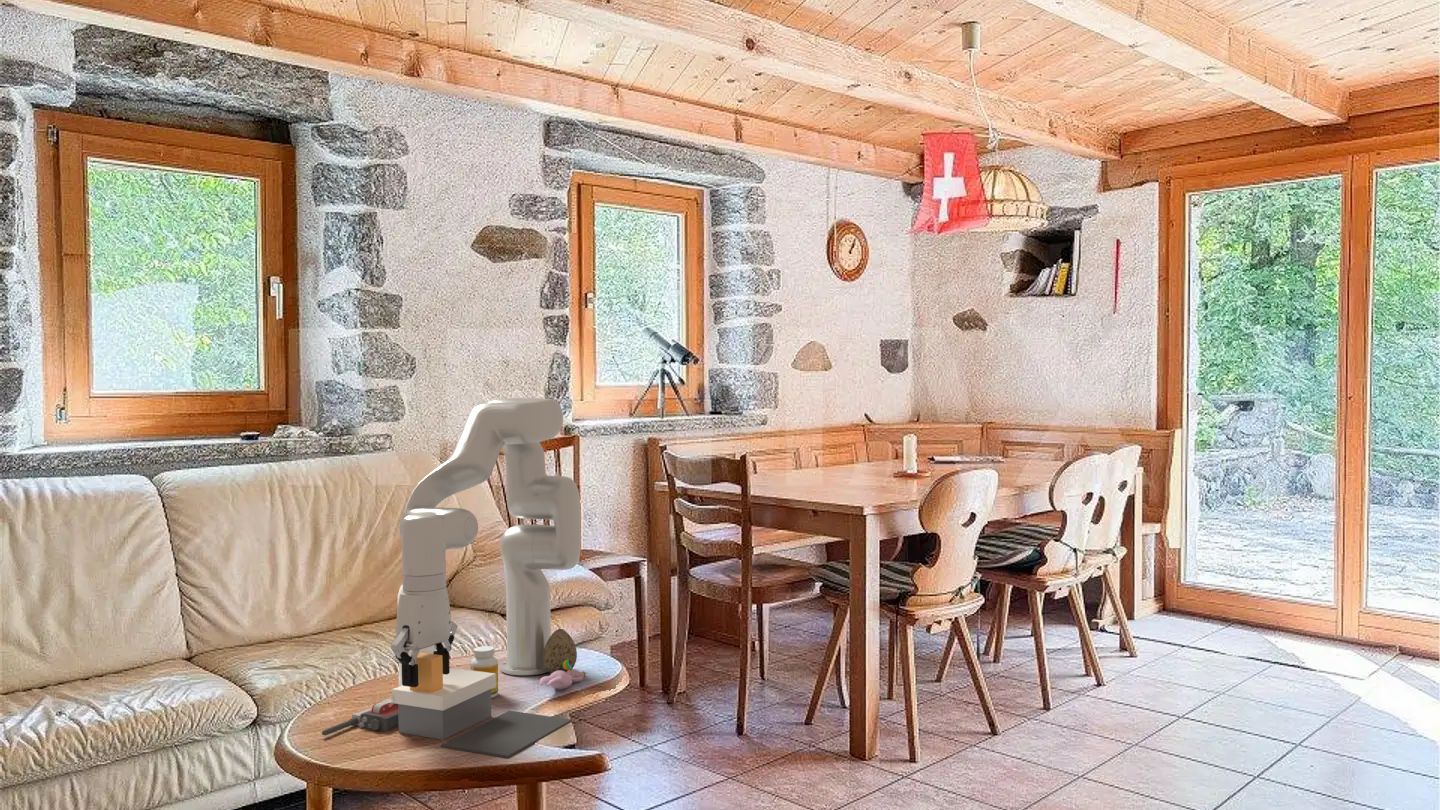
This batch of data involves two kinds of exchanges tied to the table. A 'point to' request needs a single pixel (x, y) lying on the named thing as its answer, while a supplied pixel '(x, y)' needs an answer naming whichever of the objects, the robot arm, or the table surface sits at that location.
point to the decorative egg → (559, 651)
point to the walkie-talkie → (372, 718)
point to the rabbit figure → (563, 677)
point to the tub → (444, 717)
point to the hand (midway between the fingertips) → (426, 679)
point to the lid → (442, 685)
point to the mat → (507, 734)
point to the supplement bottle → (486, 664)
